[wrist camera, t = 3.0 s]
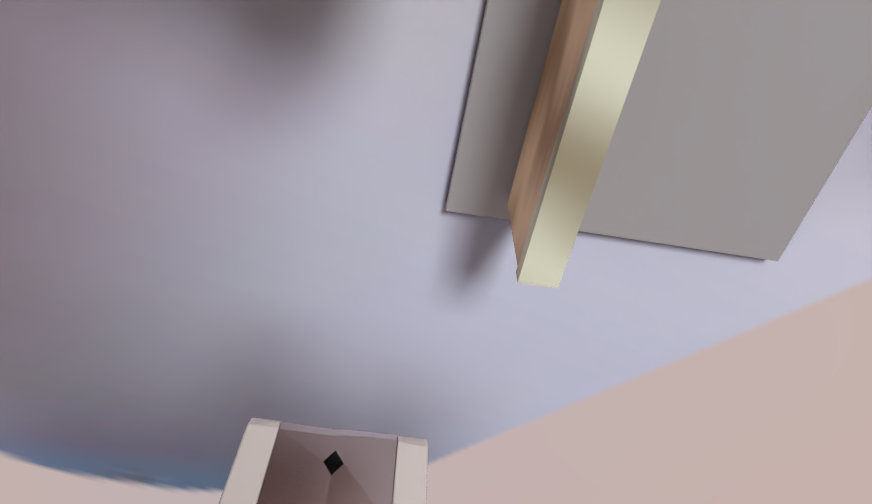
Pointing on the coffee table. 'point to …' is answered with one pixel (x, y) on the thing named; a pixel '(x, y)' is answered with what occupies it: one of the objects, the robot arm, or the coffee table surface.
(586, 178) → the fence gate
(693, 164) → the card
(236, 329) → the coffee table surface
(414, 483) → the robot arm
